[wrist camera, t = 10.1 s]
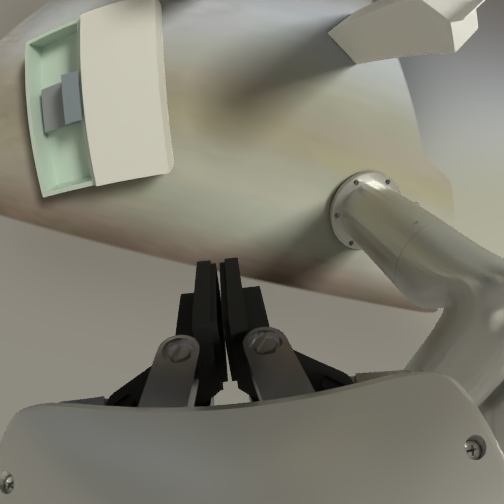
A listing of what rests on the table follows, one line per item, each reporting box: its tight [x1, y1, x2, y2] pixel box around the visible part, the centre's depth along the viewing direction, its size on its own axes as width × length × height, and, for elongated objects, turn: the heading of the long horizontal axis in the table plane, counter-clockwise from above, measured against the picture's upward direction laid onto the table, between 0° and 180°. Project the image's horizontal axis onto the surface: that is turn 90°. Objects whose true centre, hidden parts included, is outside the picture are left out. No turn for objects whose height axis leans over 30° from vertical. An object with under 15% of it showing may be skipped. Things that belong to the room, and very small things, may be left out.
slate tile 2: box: [41, 82, 75, 133], centre depth 26 cm, size 4×6×2 cm, turn 3°
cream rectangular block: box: [80, 0, 174, 186], centre depth 26 cm, size 9×22×5 cm, turn 3°
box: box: [25, 18, 96, 198], centre depth 26 cm, size 9×22×4 cm, turn 3°
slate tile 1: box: [61, 71, 82, 125], centre depth 24 cm, size 4×6×2 cm
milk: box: [328, 0, 485, 64], centre depth 19 cm, size 6×6×22 cm
